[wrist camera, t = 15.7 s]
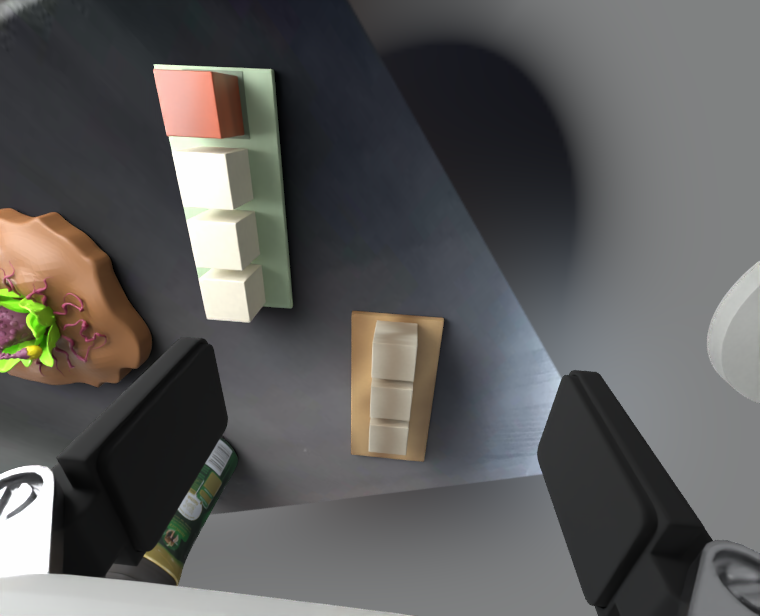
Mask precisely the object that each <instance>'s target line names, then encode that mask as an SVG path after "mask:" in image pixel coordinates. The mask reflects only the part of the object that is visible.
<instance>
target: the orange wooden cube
mask: <svg viewBox="0 0 760 616" xmlns="http://www.w3.org/2000/svg"><path fill="white" fill-rule="evenodd" d="M153 72H154V77H155V82H156V86H157V91H158V96H159V101H160V105H161V110H162V115H163V119H164V124H165V129H166V134H167V136H176V137H195V138H214V139H223V138H230V137H236V136H242V135H244V127H243V118H242V110H241V102H240V94H239V85H238V77H237V76H235V75H229V74H223V73H218V72H212V71H191V70H167V69H153Z"/></svg>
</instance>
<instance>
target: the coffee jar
mask: <svg viewBox="0 0 760 616" xmlns="http://www.w3.org/2000/svg"><path fill="white" fill-rule="evenodd" d="M237 464H238V458H237V455H236V453H235V452H234V450H233V448H232V447H231V446H230V444H229V443H228V442H227V441H225V440H224V439H223V438H220V440H219V441H218V443H217V445H216V446H215V448H214V450H213V451H212V453H211V455H210V456H209V458H208V460H207V461H206V463H205V465H204V466H203V468H202V470H201V471H200V473H199V475H198V476H197V478H196V480H195V481H194V483H193V485H192V486H191V488H190V490H189V491H188V493H187V495H186V496H185V498H184V500H183V501H182V503H181V505H180V506H179V508H178V510H177V512H176V513H175V515H174V517H173V518H172V520H171V522H170V523H169V525H168V527H167V528H166V530H165V532H164V533H163V535H162V537H161V538H160V540H159V542H158V543H157V545H156V546H155V547H154V548H153V549H152V550H151V551H149V552H146V553H145V555H144V556H143V558H142V560H141V561H140V563H139V564H138V566H137V567H136V566H128V565H120V564H114V563H113V565H112V566H111V568H110V569H109V571H108V572H107V574H106V578H107V579H117V580H127V581H137V582H147V583H155V584H164V585H172V586H178V583H179V580H180V577H181V573H182V569H183V566H184V563H185V561H186V559H187V556H188V554H189V552H190V550H191V548H192V546H193V544H194V542H195V540H196V538H197V537H198V535H199V533H200V531H201V529H202V527H203V526H204V524H205V522H206V520H207V518H208V516H209V515H210V513H211V511H212V509H213V507H214V506H215V504H216V502H217V500H218V499H219V497H220V495H221V493H222V492H223V490H224V488H225V487H226V485H227V483H228V481H229V479H230V478H231V476H232V474H233V472H234V470H235V468H236V466H237Z"/></svg>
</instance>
